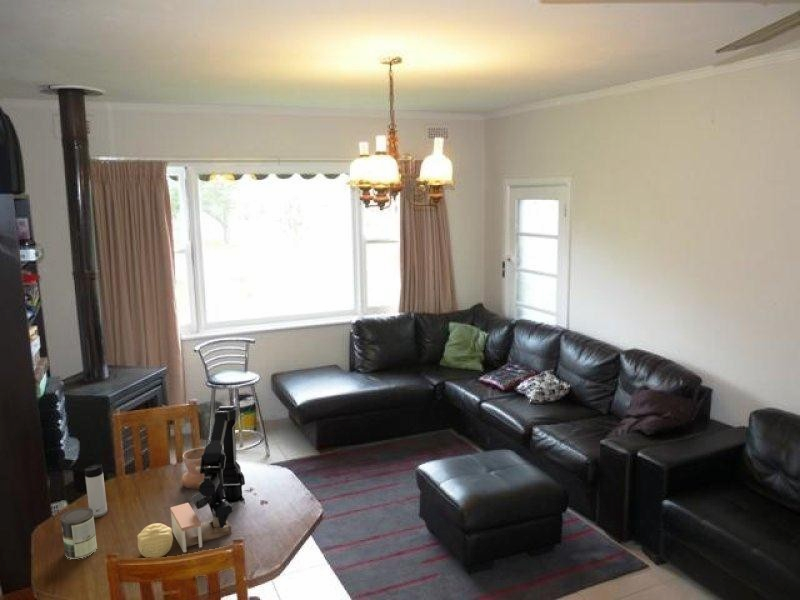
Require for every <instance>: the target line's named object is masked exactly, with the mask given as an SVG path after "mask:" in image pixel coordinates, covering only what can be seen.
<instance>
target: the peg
mask: <svg viewBox="0 0 800 600" xmlns="http://www.w3.org/2000/svg"><path fill="white" fill-rule="evenodd" d="M211 515H212V520H213V529H214V528H218V527H220V525H219V521H218V518H217V517H215V516H214V514H213V511H212V513H211Z"/></svg>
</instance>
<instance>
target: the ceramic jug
mask: <svg viewBox="0 0 800 600" xmlns="http://www.w3.org/2000/svg"><path fill="white" fill-rule="evenodd" d="M204 450H205V447H197V448H191V449H188V450H187V451H184V453H183V454H182V459H183V463H184V465H185V468H186V469H187V471H186V472H184V474H183V475H182V477H181V483H182V485H183V486H184V487H185V488H187V489H192V490H199V486H200V484H201V482H202V481H203V479H204V474H200V468H201V458H202V454H203V453H204ZM209 467H210V466H205V465H204V468H209Z"/></svg>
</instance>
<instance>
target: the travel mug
mask: <svg viewBox="0 0 800 600" xmlns="http://www.w3.org/2000/svg"><path fill="white" fill-rule="evenodd" d="M103 470H104V469H103V464H101V463H96V464H93V465H92V464H91V465H89V466H88V467H86V468H84V478H85V485H86V494H87V501H88V503H87V504H88V508H90V509H92V510H93V517H94V518H101V517H103V516H105V515H106V514H107V513H108V505H107V498H106V497H107V496H106V488H105V479H104V471H103Z"/></svg>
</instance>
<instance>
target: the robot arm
mask: <svg viewBox="0 0 800 600" xmlns="http://www.w3.org/2000/svg"><path fill="white" fill-rule="evenodd" d="M239 416H240V409H239V408H238V407H237V405H220V406H219V407H218V408H215V409H214V416H213V417H214V423H213V427H212V432H211V436H210V441H209V443H208V444H207V445H206V446H205V447H204V448H205V450H204V453H203V454H202V458H201V468H200V474H204V479H203V481H202V482H201V484H200V486H199V489H198V490H199V492H198V493H196V494H194V495H193V496H192V497H191V498H190V499H191V501H192V503H193V505H194V506H195V508H196V510H200V509H203V508H204V507H206V506H207V505H208V507H209V509H210V512H211V514H212V511H213V514H214V516H215V517H217V518H218V521H219V525H220V528H223V527H224V525H225V522H226V520H227V521H228V517H229V516H230V514H231V513H233V511H234V510H233V506H232V504H233V503H235V502H238V501H242V500H244V499H245V498H244V497H243V486H244V485H246V479H245V474H243V472H242V471H241V469H242V468H241V465H240V464H239V462H238V461H237V455H236V452H237V451H236V439H235V438H236V437H235V425H236V423H237V421H239ZM204 465H205V466H209V468H204ZM223 500H225V501H223Z"/></svg>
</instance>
